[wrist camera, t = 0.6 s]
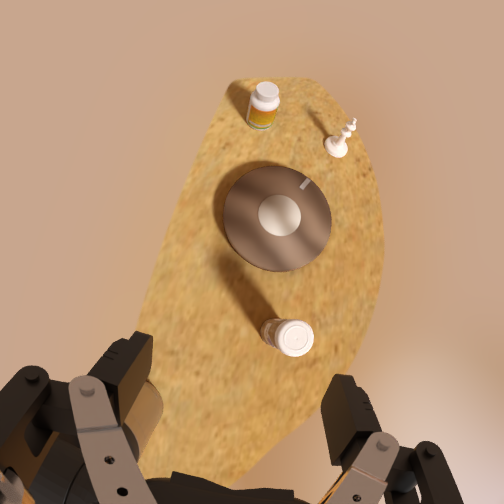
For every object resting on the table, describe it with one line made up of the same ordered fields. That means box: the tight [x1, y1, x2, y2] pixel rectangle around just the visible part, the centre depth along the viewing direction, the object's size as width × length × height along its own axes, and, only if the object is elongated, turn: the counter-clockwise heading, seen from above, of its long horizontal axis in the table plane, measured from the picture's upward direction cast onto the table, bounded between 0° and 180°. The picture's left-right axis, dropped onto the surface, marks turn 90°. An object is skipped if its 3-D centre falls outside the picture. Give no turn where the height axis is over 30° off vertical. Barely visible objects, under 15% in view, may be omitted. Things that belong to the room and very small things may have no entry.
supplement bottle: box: [246, 82, 280, 130], centre depth 50 cm, size 5×5×10 cm
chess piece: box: [324, 118, 356, 157], centre depth 50 cm, size 5×5×10 cm
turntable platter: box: [223, 166, 331, 272], centre depth 48 cm, size 18×18×2 cm
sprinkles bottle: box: [260, 318, 314, 357], centre depth 40 cm, size 5×5×14 cm
